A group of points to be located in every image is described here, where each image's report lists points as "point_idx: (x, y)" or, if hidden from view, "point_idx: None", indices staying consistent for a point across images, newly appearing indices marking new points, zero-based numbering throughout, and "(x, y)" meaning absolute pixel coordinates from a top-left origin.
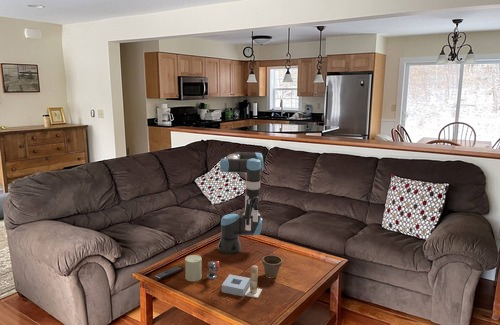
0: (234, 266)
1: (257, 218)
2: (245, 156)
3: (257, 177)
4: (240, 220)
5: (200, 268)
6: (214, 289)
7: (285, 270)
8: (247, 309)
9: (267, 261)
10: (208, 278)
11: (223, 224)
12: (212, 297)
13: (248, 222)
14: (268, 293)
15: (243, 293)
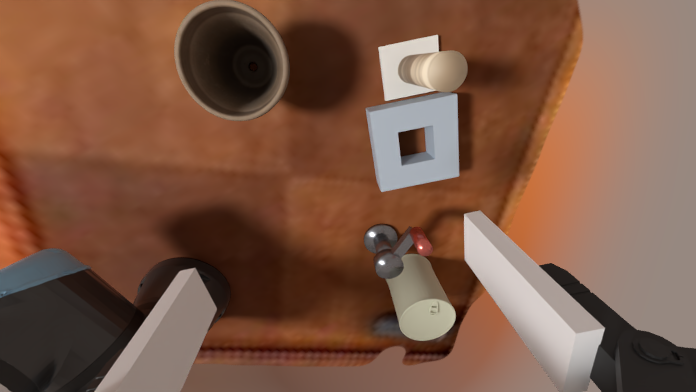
0: (282, 217)
1: (173, 301)
2: None
3: None
4: (82, 379)
5: (417, 277)
6: (443, 192)
7: (169, 24)
8: (515, 35)
9: (226, 100)
10: (396, 239)
11: None
12: (485, 173)
13: (591, 295)
14: (387, 9)
15: (448, 92)
